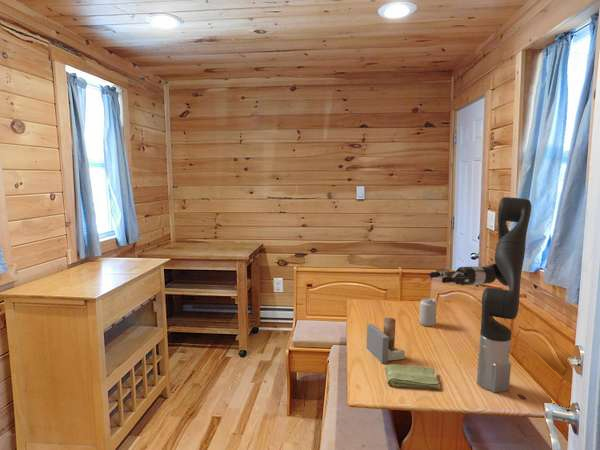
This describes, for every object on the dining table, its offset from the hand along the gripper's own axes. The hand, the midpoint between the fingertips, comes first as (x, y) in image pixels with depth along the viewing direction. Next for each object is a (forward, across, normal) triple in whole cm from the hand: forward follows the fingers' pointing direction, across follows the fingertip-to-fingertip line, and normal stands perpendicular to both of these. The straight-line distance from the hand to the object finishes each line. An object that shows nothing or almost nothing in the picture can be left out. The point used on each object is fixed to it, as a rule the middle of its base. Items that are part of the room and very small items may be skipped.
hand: (436, 277), depth 166 cm
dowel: (+20, +2, +30) cm, 36 cm away
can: (-13, -23, +29) cm, 39 cm away
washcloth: (+22, +22, +30) cm, 43 cm away
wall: (+25, +2, +30) cm, 39 cm away
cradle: (+20, +2, +29) cm, 36 cm away
